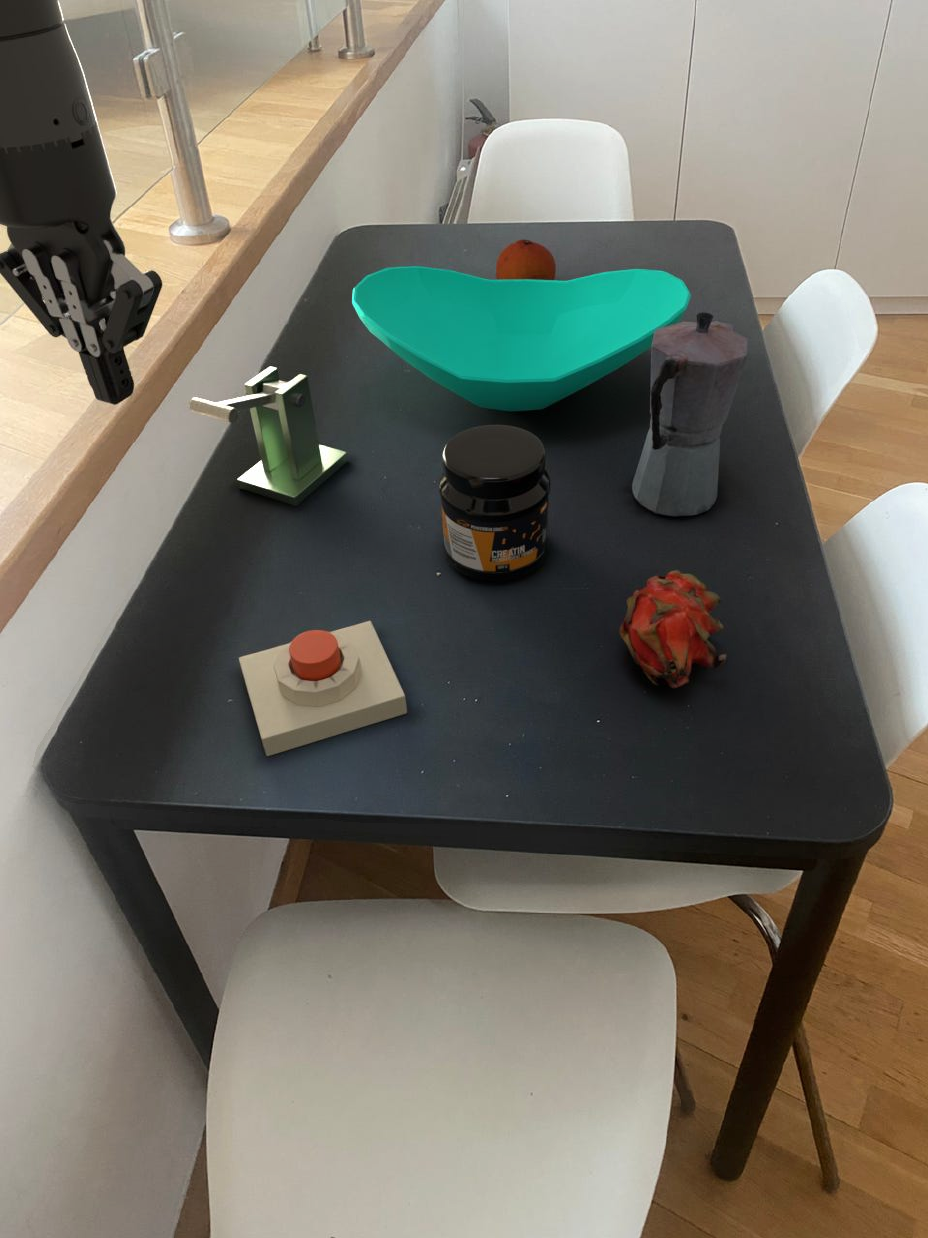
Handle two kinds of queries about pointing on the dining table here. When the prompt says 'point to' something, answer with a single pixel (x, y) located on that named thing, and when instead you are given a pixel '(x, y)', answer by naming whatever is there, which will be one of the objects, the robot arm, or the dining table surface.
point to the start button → (315, 655)
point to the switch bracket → (288, 444)
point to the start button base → (322, 692)
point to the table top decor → (517, 328)
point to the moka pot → (688, 414)
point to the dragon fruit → (672, 627)
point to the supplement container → (494, 502)
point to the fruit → (525, 262)
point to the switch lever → (238, 403)
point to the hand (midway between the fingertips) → (116, 397)
